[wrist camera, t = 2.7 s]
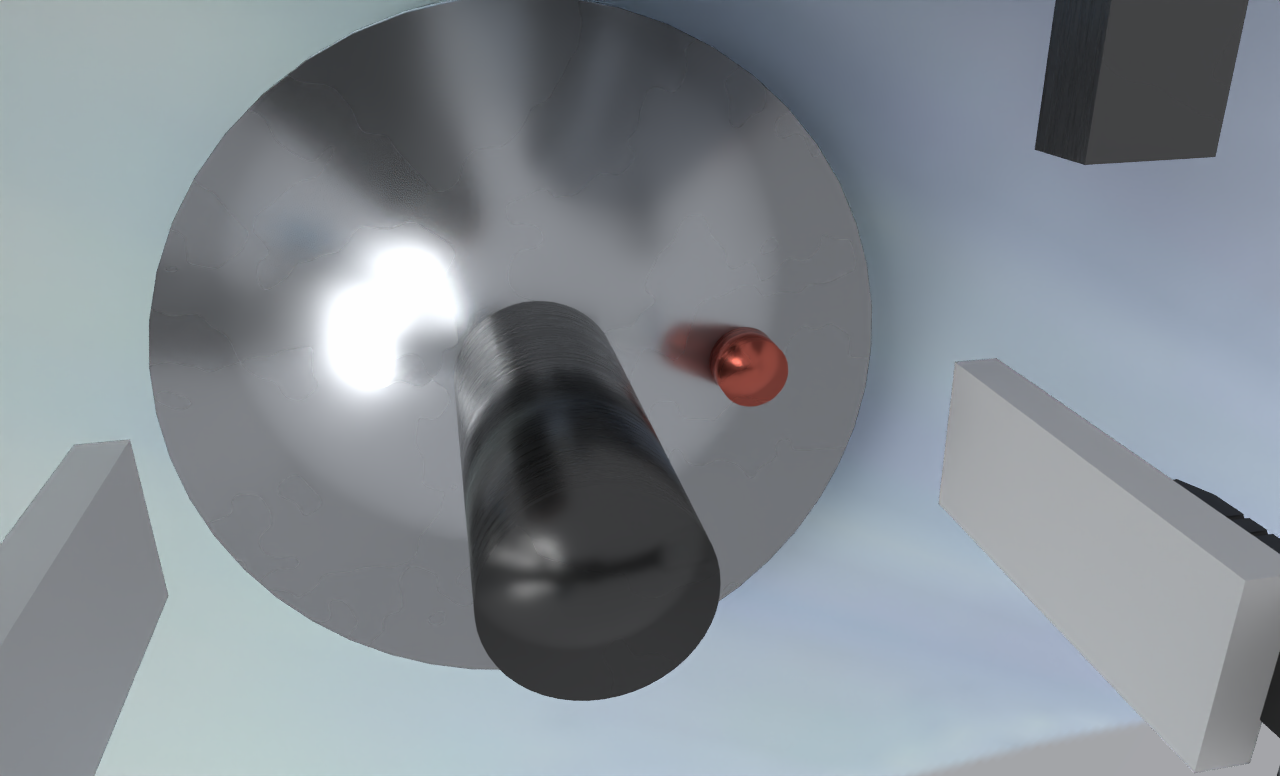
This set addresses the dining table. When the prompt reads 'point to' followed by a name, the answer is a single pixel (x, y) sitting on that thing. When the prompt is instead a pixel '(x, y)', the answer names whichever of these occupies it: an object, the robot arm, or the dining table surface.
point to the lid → (512, 339)
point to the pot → (1138, 79)
